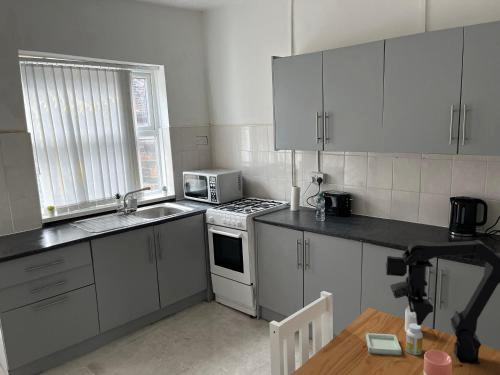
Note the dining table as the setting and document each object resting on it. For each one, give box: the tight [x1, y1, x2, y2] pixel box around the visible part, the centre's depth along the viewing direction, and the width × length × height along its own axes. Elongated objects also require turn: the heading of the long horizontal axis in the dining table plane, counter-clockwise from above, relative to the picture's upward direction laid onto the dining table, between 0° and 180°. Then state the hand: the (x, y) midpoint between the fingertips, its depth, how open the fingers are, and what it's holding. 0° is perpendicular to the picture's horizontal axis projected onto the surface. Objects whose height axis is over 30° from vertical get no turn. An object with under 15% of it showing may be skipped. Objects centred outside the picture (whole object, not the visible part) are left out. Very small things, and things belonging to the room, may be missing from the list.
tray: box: [365, 332, 402, 356], centre depth 140 cm, size 11×10×2 cm
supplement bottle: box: [405, 323, 424, 356], centre depth 136 cm, size 5×5×10 cm
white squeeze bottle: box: [404, 305, 422, 332], centre depth 149 cm, size 6×12×6 cm
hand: (415, 318), depth 135 cm, fingers open, 9 cm apart
